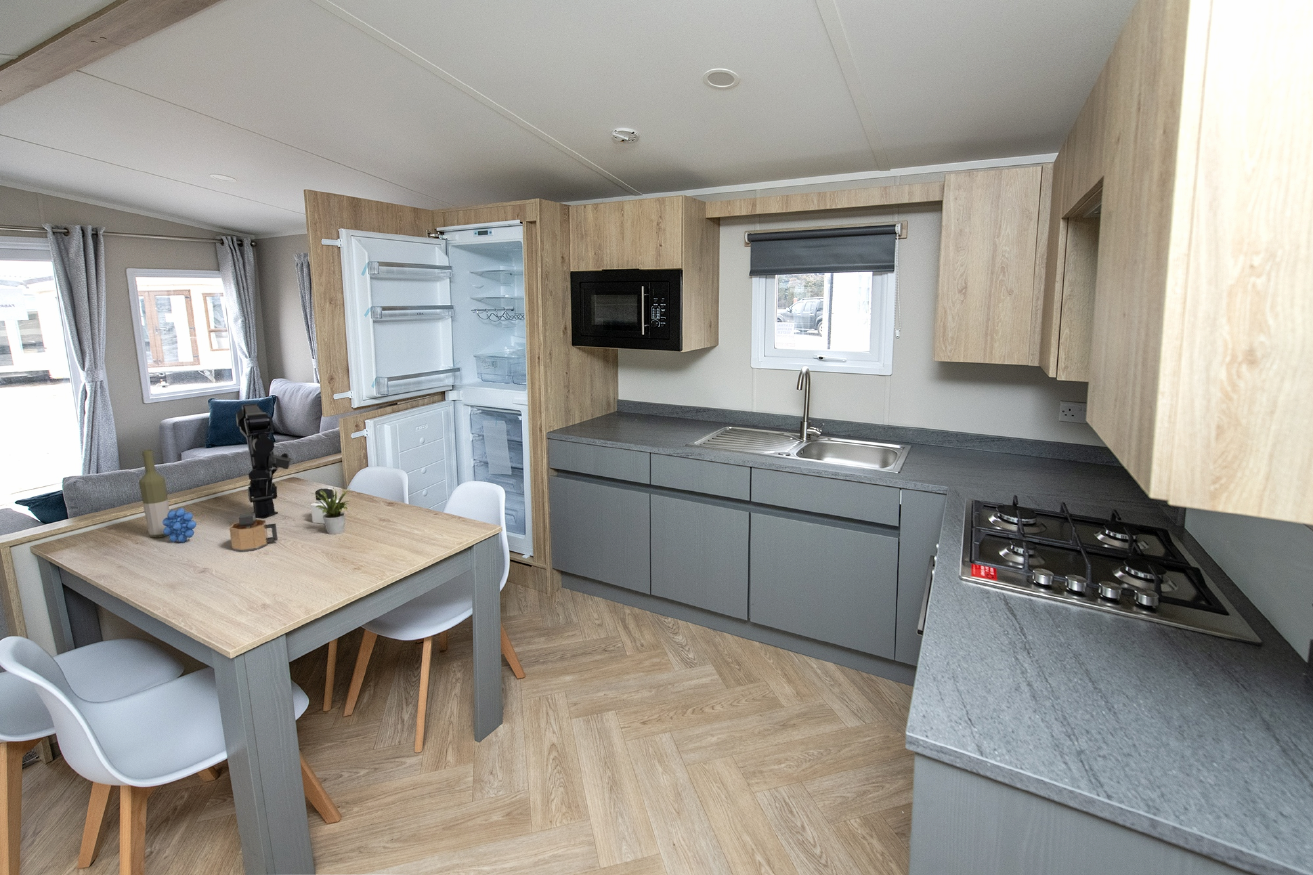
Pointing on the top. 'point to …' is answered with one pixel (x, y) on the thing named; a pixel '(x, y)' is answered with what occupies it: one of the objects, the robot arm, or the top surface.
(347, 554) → the top surface
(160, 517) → the bottle
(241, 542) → the octagonal wooden mug
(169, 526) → the grapes
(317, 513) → the medicine bottle
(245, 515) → the grey cube on disc
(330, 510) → the house plant
